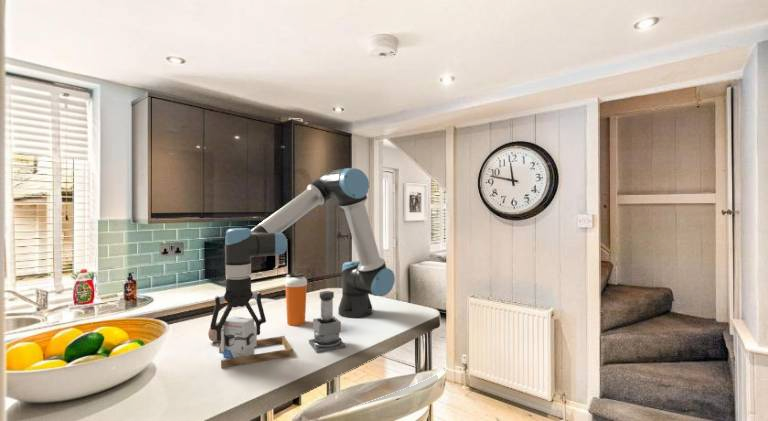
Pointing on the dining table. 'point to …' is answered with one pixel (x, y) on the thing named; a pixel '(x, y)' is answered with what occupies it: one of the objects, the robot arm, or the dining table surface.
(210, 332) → the egg
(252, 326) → the ink box
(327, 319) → the handle peg
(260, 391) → the dining table surface
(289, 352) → the bay
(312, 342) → the peg socket
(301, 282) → the shaker bottle
